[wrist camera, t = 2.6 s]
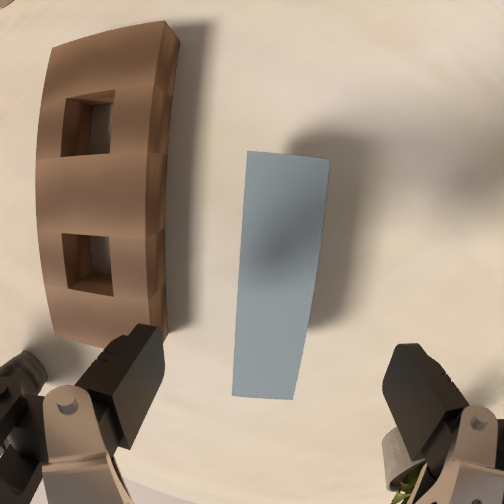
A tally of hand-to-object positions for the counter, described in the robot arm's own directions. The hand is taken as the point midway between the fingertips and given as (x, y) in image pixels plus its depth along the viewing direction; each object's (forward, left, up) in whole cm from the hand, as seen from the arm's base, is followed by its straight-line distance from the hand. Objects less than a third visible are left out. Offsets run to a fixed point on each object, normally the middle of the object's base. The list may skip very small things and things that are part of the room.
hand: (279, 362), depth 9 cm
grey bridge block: (0, 0, -11) cm, 11 cm away
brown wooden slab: (-4, -12, -11) cm, 17 cm away
